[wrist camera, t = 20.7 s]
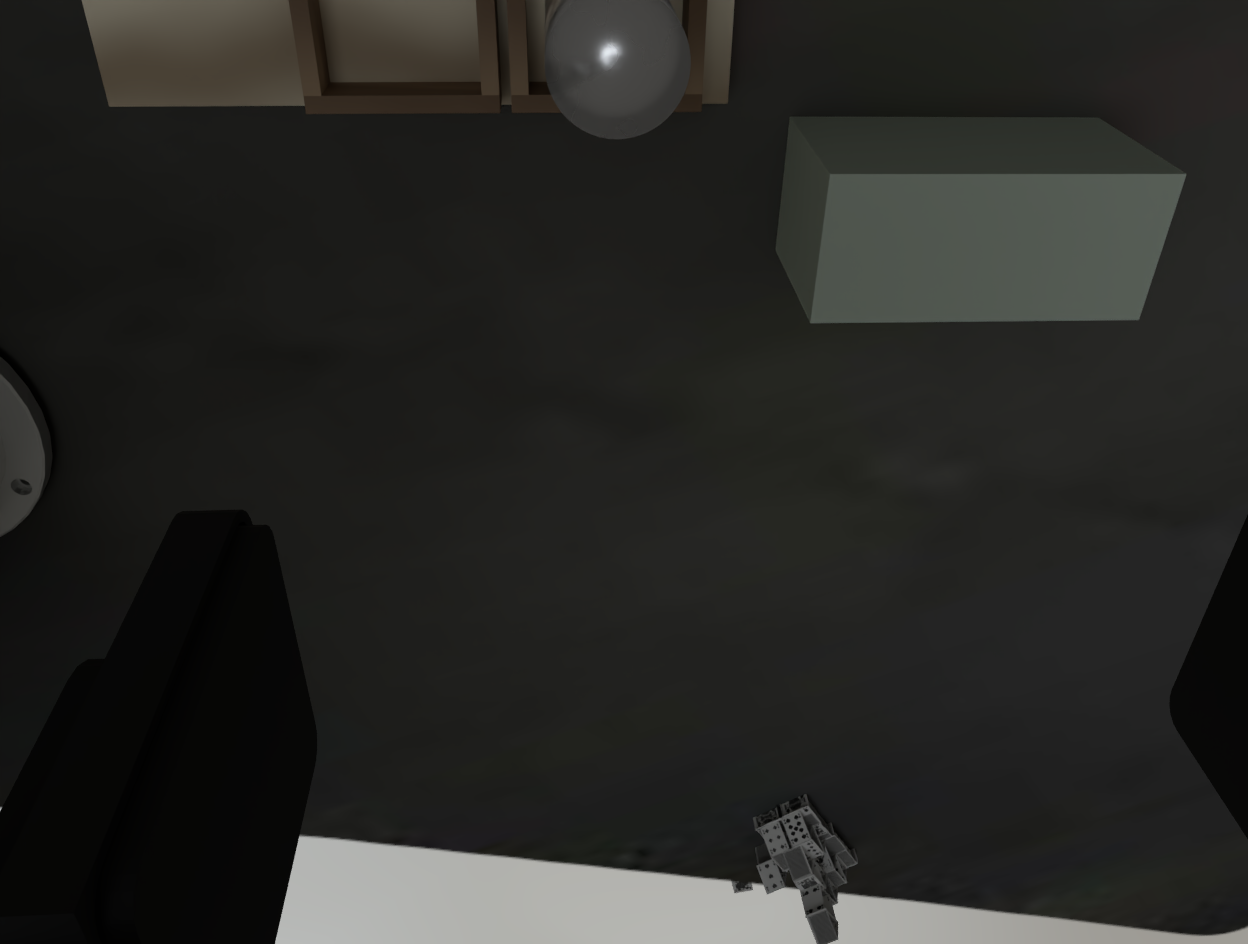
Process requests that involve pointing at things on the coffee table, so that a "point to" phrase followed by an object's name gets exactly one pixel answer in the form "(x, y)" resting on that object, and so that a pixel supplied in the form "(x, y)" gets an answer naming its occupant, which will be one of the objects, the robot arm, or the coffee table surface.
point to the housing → (971, 219)
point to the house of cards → (803, 861)
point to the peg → (615, 63)
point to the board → (359, 54)
